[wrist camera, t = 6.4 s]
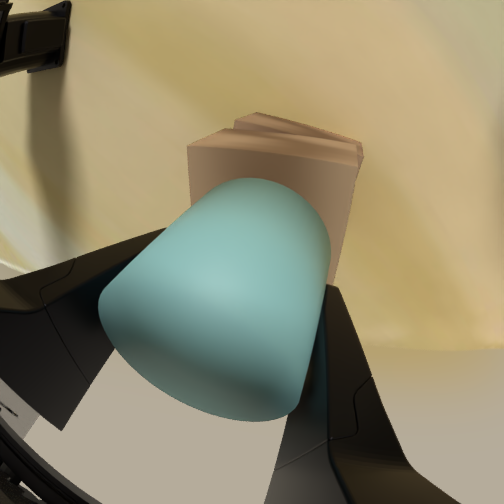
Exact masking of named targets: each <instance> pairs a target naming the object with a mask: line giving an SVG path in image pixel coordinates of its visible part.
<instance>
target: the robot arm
mask: <svg viewBox="0 0 504 504" xmlns="http://www.w3.org/2000/svg"><path fill="white" fill-rule="evenodd" d="M12 5H13V3H9V0H0V77H2V76H6V75H9V74H13V73H16V72H20V71H24V70H27V73H32V72H37V71H41V70H46V69H51V68H56V67H60V66H62V64H63V57H64V46H65V37H66V29H67V22H68V16H69V10H70V5H71V2H70V1H69V0H65V1H63V2H60V3H58V4H56V5H54V6H51V7H49V8H47V9H45V10H43V11H39V12H28V13H20V14H12V15H8V14H9V11H10V9H11V8H12ZM165 229H166V228H163V229H159V230H156V231H153V232H150V233H147V234H144V235H141V236H138V237H134V238H131V239H128V240H125V241H122V242H119V243H116V244H113V245H110V246H107V247H104V248H102V249H99V250H96V251H93V252H90V253H87V254H84V255H82V256H79V257H77V258H73V259H70V260H68V261H65V262H62V263H59V264H56V265H53V266H50V267H47V268H44V269H40V270H37V271H34V272H30V273H27V274H24V275H20V276H17V277H14V278H10V279H6V280H0V504H102V503H100V502H99V501H97V500H96V499H94V498H93V497H91V496H90V495H88V494H87V493H85V492H84V491H83V490H81V489H79V488H78V487H77V486H76V485H74V484H73V483H72V482H70V481H69V480H68V479H66V478H65V477H64V476H63V475H61V474H60V473H59V472H58V471H57V470H55V469H54V468H53V467H52V466H51V465H49V464H48V463H47V462H46V461H45V460H44V459H43V458H41V457H40V456H39V455H38V454H37V453H36V452H35V451H34V450H33V449H32V448H31V447H30V446H29V445H28V444H27V443H26V442H24V440H23V439H24V437H25V436H26V434H27V433H28V431H29V430H30V428H31V427H32V425H33V424H34V422H35V421H36V420H37V418H38V417H39V415H41V416H42V417H43V418H45V419H46V420H47V421H49V422H50V423H51V424H53V425H54V426H55V427H56V428H58V429H59V430H60V431H62V430H63V428H64V427H65V425H66V423H67V422H68V420H69V418H70V417H71V415H72V414H73V412H74V411H75V409H76V407H77V406H78V404H79V403H80V401H81V399H82V398H83V396H84V395H85V393H86V392H87V389H88V388H89V387H90V385H91V384H92V382H93V380H94V379H95V377H96V376H97V374H98V373H99V371H100V370H101V368H102V367H103V365H104V364H105V362H106V361H107V359H108V358H109V356H110V355H111V353H112V352H113V351H114V349H115V347H114V346H113V344H112V343H111V341H110V340H109V338H108V336H107V334H106V332H105V330H104V328H103V326H102V323H101V320H100V317H99V311H98V302H99V298H100V295H101V293H102V291H103V290H104V288H105V287H106V286H107V285H108V284H109V283H110V282H111V281H112V280H113V279H114V278H115V277H116V276H117V275H118V274H119V273H120V272H121V271H122V270H123V269H124V268H125V267H126V266H127V265H128V264H129V263H130V262H131V261H132V260H133V259H135V258H136V257H137V256H138V255H139V254H140V253H141V252H142V251H143V250H144V249H145V248H146V247H147V246H148V245H149V244H150V243H151V242H152V241H153V240H155V239H156V238H157V237H158V236H159V235H160V234H161V233H162V232H163V231H164V230H165ZM371 376H372V374H371V371H370V368H369V365H368V362H367V360H366V357H365V355H364V351H363V349H362V346H361V343H360V341H359V338H358V335H357V333H356V330H355V328H354V325H353V322H352V320H351V317H350V315H349V312H348V310H347V307H346V305H345V302H344V300H343V297H342V295H341V293H340V290H339V288H338V287H336V286H333V285H330V284H326V288H325V293H324V298H323V303H322V308H321V313H320V318H319V323H318V327H317V332H316V336H315V341H314V345H313V349H312V353H311V358H310V362H309V366H308V370H307V374H306V377H305V381H304V385H303V389H302V393H301V396H300V400H299V403H298V405H297V406H296V408H295V409H294V410H293V411H292V412H290V413H289V414H288V417H287V421H286V426H285V429H284V434H283V438H282V442H281V446H280V449H279V453H278V457H277V461H276V464H275V468H274V472H273V475H272V478H271V482H270V485H269V489H268V492H267V496H266V499H265V502H264V504H461V503H459V502H457V501H456V500H455V499H453V498H452V497H450V496H449V495H447V494H446V493H445V492H443V491H442V490H441V489H439V488H438V487H436V486H435V485H434V484H432V483H431V482H430V481H428V480H427V479H426V478H424V477H423V476H422V475H420V474H419V473H418V472H417V471H416V470H415V469H414V468H413V467H412V466H411V465H410V464H409V462H408V460H407V459H406V457H405V455H404V453H403V450H402V448H401V446H400V443H399V441H398V439H397V436H396V434H395V432H394V429H393V428H392V425H391V423H390V420H389V418H388V416H387V414H386V411H385V409H384V406H383V404H382V402H381V399H380V396H379V393H378V390H377V388H376V385H375V382H374V379H373V377H371ZM21 481H22V482H23V483H24V484H25V485H26V486H28V487H29V488H30V489H31V490H32V491H33V492H34V493H35V494H36V495H37V496H38V497H40V498H41V499H42V500H38V499H37V498H36V497H35V496H34V495H33V494H32V493H31V492H30V491H28V490H27V489H25V488H24V487H22V486H21V485H19V483H20V482H21Z"/></svg>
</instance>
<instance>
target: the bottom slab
mask: <svg viewBox="0 0 504 504" xmlns="http://www.w3.org/2000/svg"><path fill="white" fill-rule="evenodd" d="M233 129H241V130H255V131H266V132H276V133H285V134H293V135H301V136H308V137H315V138H321V139H327V140H333V141H339V142H345V143H350V144H355V145H356V148H357V162H358V169H357V175H358V172H359V169H360V167H361V164H362V161H363V158H364V155H363V149H362V144H361V142H358V141H356V140H353V139H350V138H347V137H344V136H341V135H338V134H335V133H332V132H329V131H325V130H322V129H319V128H315V127H312V126H309V125H305V124H301V123H298V122H294V121H290V120H287V119H283V118H279V117H274V116H270V115H266V114H262V113H257V112H256V113H253V114H250V115H247V116H244V117H241V118H239V119H236V120H235V122H234V128H233ZM357 175H356V178H357Z"/></svg>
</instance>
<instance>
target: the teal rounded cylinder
mask: <svg viewBox="0 0 504 504" xmlns="http://www.w3.org/2000/svg"><path fill="white" fill-rule="evenodd" d="M330 260H331V244H330V238H329V235H328V232H327V229H326V227H325V225H324V222H323V221H322V219H321V217H320V216H319V214H318V213H317V212H316V210H315V209H314V208H313V207H312V206H311V205H310V204H309V203H308V202H307V201H306V200H305V199H304V198H303V197H302V196H300V195H299V194H297V193H296V192H294V191H293V190H291V189H289V188H287V187H285V186H283V185H281V184H278V183H276V182H273V181H269V180H265V179H259V178H239V179H233V180H230V181H227V182H224V183H221V184H219V185H218V186H216V187H214V188H213V189H211V190H210V191H209V192H207V193H206V194H205V195H204V196H203V197H202V198H200V199H199V200H198V201H197V202H196V203H195V204H193V205H192V206H191V207H190V208H189V209H188V210H187V211H185V212H184V213H183V214H182V215H181V216H180V217H179V218H178V219H176V220H175V221H174V222H173V223H172V224H171V225H170V226H169V227H168V228H166V229H165V230H164V231H163V232H162V233H161V234H160V235H159V236H158V237H157V238H156V239H155V240H153V241H152V242H151V243H150V244H149V245H148V246H147V247H146V248H145V249H144V250H143V251H142V252H141V253H140V254H139V255H138V256H137V257H136V258H135V259H133V260H132V261H131V262H130V263H129V264H128V265H127V266H126V267H125V268H124V269H123V270H122V271H121V272H120V273H119V274H118V275H117V276H116V277H115V278H114V279H113V280H112V281H111V282H110V283H109V284H108V285H107V286H106V287H105V288H104V290H103V291H102V293H101V295H100V298H99V302H98V311H99V317H100V320H101V323H102V326H103V328H104V330H105V332H106V334H107V336H108V338H109V340H110V341H111V343H112V344H113V346H114V347H115V348H116V350H117V351H118V352H119V354H120V355H121V356H122V357H123V358H124V359H125V360H126V361H127V363H129V365H130V366H131V367H133V368H134V369H135V370H136V371H137V372H138V373H139V374H140V375H141V376H142V377H144V378H145V379H146V380H148V381H149V382H150V383H151V384H153V385H154V386H156V387H157V388H159V389H160V390H161V391H163V392H165V393H167V394H168V395H170V396H171V397H173V398H175V399H177V400H179V401H180V402H182V403H185V404H187V405H189V406H191V407H193V408H196V409H198V410H201V411H203V412H206V413H209V414H212V415H216V416H219V417H224V418H228V419H233V420H239V421H251V422H260V421H269V420H274V419H278V418H281V417H284V416H285V415H287V414H289V413H290V412H292V411H293V410H294V409H295V408H296V406H297V405H298V403H299V400H300V396H301V393H302V389H303V385H304V381H305V377H306V374H307V370H308V366H309V362H310V358H311V353H312V349H313V345H314V341H315V336H316V332H317V327H318V323H319V318H320V313H321V308H322V303H323V298H324V293H325V288H326V282H327V277H328V271H329V266H330Z"/></svg>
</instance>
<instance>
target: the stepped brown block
mask: <svg viewBox="0 0 504 504" xmlns="http://www.w3.org/2000/svg"><path fill="white" fill-rule="evenodd" d="M187 156H188V171H189V185H190V197H191V206H192V205H193V204H195V203H196V202H197V201H198V200H199V199H200V198H202V197H203V196H204V195H205V194H206V193H207V192H209V191H210V190H211V189H213V188H214V187H216V186H218V185H219V184H221V183H224V182H227V181H230V180H233V179H239V178H259V179H265V180H269V181H273V182H276V183H278V184H281V185H283V186H285V187H287V188H289V189H291V190H293V191H294V192H296V193H297V194H299V195H300V196H302V197H303V198H304V199H305V200H306V201H307V202H308V203H309V204H310V205H311V206H312V207H313V208H314V209H315V210H316V212H317V213H318V214H319V216H320V217H321V219H322V221H323V222H324V225H325V227H326V229H327V232H328V235H329V238H330V244H331V260H330V266H329V271H328V277H327V282H326V284H330V285H333V282H334V278H335V274H336V270H337V266H338V262H339V258H340V253H341V249H342V245H343V240H344V236H345V231H346V227H347V222H348V217H349V212H350V207H351V202H352V197H353V192H354V186H355V181H356V175H357V169H358V162H357V148H356V145H355V144H350V143H345V142H339V141H333V140H327V139H321V138H315V137H308V136H301V135H293V134H285V133H276V132H266V131H255V130H241V129H223V130H220V131H218V132H216V133H214V134H211V135H209V136H207V137H205V138H202V139H200V140H198V141H196V142H194V143H192V144H189V145H187Z"/></svg>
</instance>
